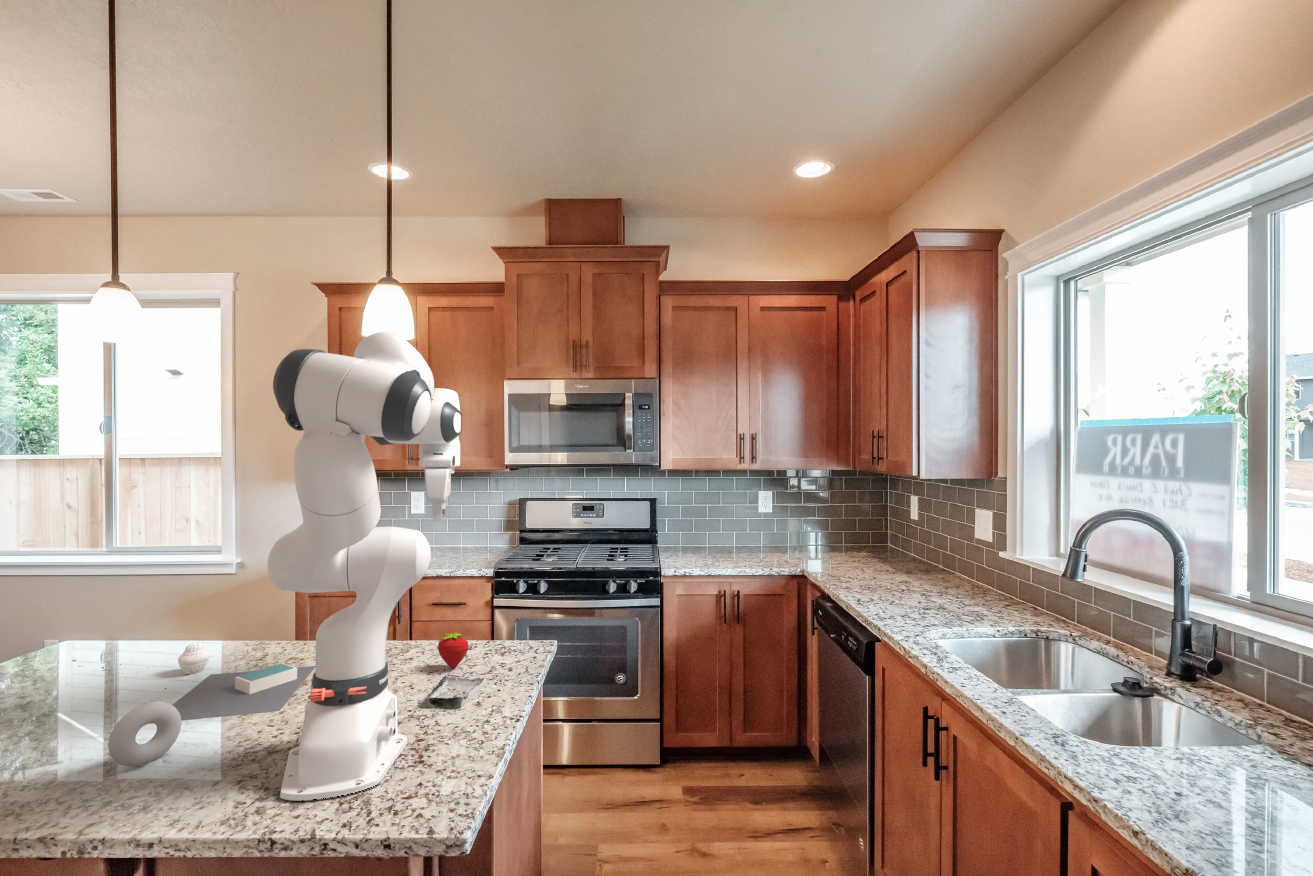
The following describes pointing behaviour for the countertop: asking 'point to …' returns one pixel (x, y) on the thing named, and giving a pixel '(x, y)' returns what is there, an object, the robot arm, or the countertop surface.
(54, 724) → the countertop surface
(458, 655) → the strawberry
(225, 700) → the mat
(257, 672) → the card box
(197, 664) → the muffin
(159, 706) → the donut
